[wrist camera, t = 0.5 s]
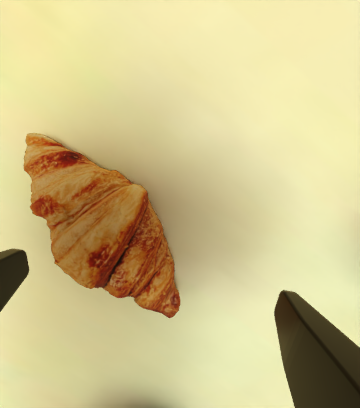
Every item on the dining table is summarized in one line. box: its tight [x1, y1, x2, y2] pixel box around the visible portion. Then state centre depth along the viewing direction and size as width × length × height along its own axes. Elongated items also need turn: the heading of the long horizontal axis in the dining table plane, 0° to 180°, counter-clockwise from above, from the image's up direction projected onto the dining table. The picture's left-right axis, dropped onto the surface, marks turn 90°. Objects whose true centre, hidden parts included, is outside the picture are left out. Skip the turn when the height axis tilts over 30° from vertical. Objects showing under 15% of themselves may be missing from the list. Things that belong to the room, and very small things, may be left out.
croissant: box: [24, 133, 180, 318], centre depth 20 cm, size 21×10×8 cm, turn 41°
